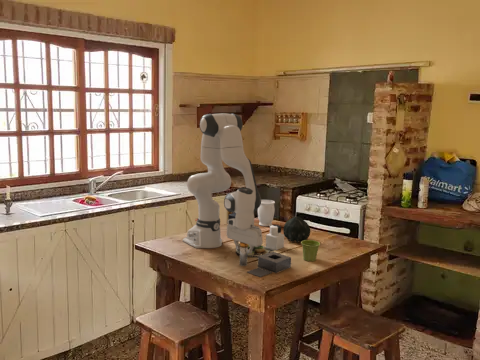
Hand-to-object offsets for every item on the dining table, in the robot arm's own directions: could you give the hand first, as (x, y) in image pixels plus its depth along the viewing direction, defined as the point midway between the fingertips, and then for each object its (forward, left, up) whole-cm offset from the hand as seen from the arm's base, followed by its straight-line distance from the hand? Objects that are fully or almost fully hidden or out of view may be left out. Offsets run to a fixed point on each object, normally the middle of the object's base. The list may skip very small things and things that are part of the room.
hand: (243, 251), depth 226 cm
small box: (-42, +39, -7) cm, 58 cm away
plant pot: (+17, +30, -7) cm, 35 cm away
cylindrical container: (0, 0, -7) cm, 7 cm away
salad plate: (-10, +17, -7) cm, 21 cm away
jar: (-40, +63, -7) cm, 75 cm away
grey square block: (+12, +9, -7) cm, 16 cm away
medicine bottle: (-7, +32, -7) cm, 33 cm away
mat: (+12, -2, -7) cm, 14 cm away
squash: (-7, +51, -7) cm, 52 cm away
